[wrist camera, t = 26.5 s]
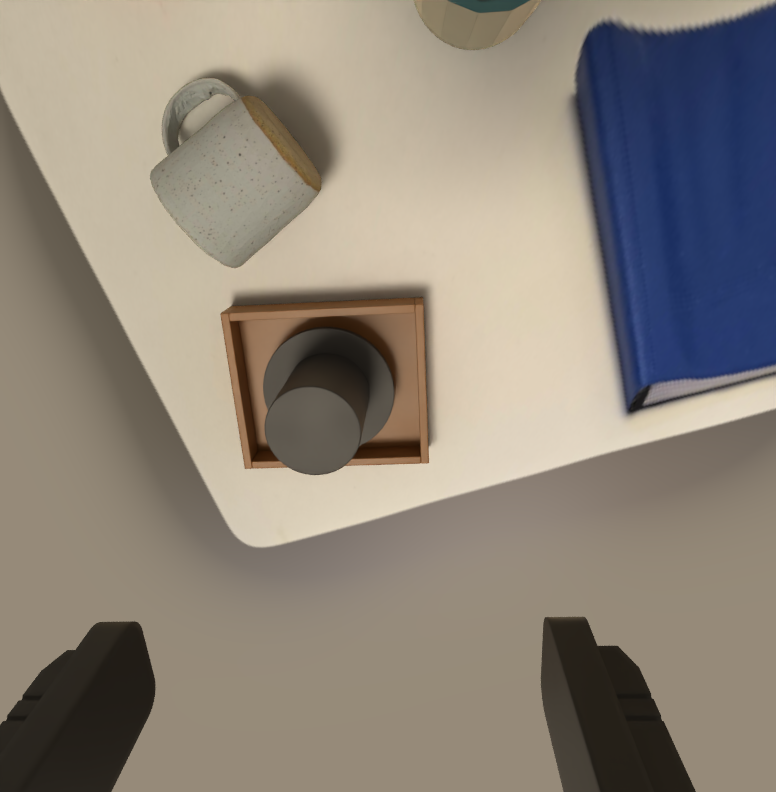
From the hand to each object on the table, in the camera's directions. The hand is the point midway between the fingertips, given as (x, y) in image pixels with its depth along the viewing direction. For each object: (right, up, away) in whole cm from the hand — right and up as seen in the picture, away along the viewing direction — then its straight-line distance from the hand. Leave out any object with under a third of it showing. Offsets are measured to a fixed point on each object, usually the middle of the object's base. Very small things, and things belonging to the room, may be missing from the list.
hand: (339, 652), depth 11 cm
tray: (-3, +6, +33) cm, 34 cm away
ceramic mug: (-9, +21, +28) cm, 36 cm away
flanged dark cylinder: (-3, +6, +33) cm, 33 cm away
